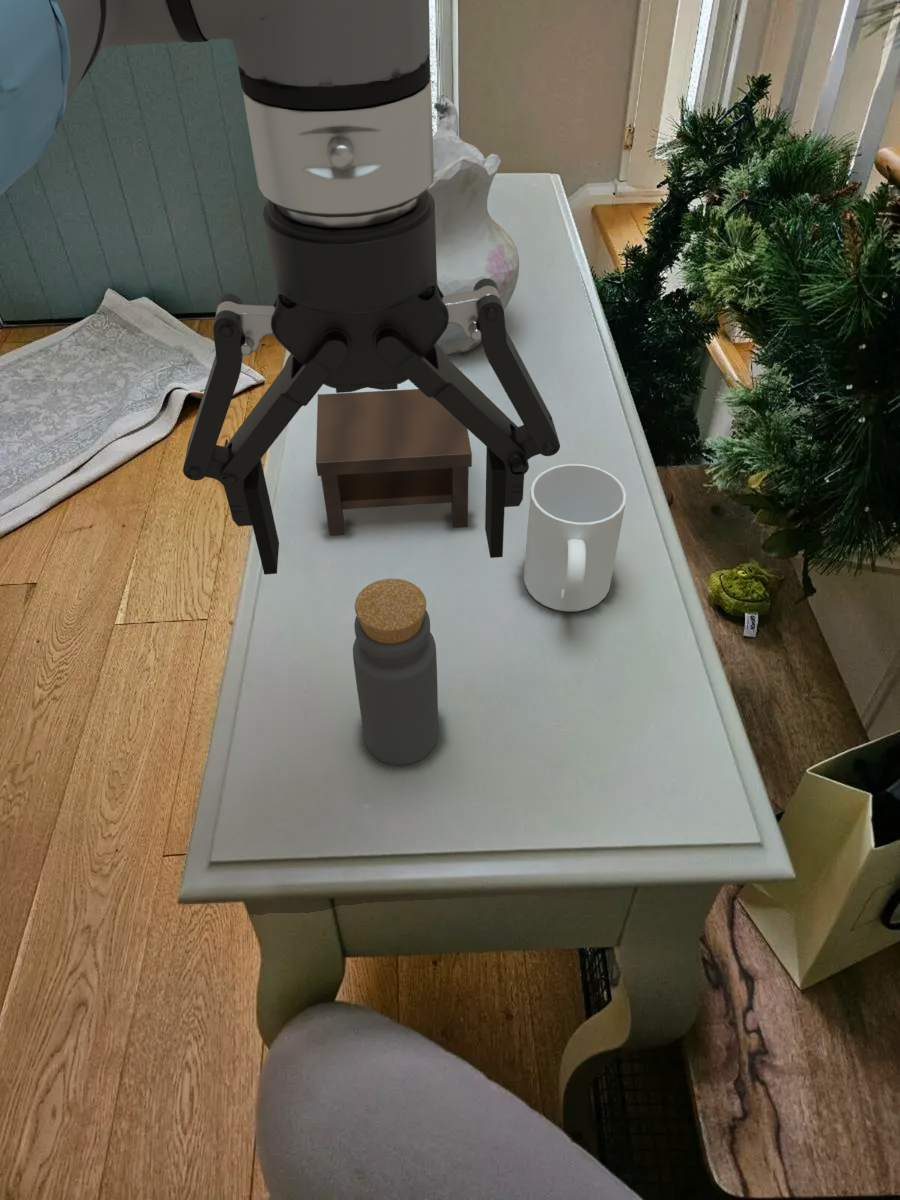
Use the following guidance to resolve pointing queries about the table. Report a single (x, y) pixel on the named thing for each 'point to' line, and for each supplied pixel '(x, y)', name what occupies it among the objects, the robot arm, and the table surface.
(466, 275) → the ceramic pitcher
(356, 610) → the bottle
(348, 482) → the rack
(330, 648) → the table surface
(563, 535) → the mug
